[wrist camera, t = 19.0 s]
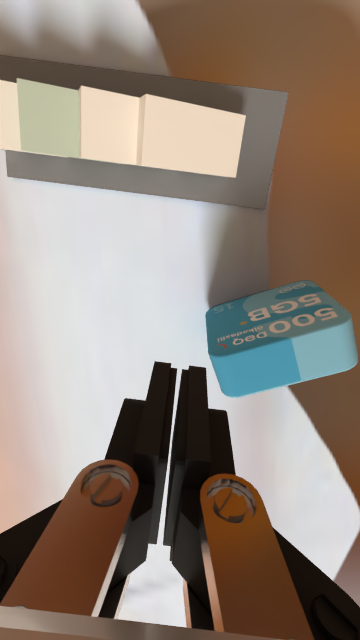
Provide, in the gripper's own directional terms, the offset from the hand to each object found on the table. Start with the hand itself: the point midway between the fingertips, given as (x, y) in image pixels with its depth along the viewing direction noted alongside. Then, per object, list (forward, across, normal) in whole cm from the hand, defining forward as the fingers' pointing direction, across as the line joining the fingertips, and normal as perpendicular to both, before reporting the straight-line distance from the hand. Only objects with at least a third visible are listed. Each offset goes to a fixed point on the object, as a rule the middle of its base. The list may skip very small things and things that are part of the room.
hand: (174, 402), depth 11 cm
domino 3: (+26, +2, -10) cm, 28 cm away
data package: (+27, -9, +6) cm, 29 cm away
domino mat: (+27, +6, -10) cm, 30 cm away
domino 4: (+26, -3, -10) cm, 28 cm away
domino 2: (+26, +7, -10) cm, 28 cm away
